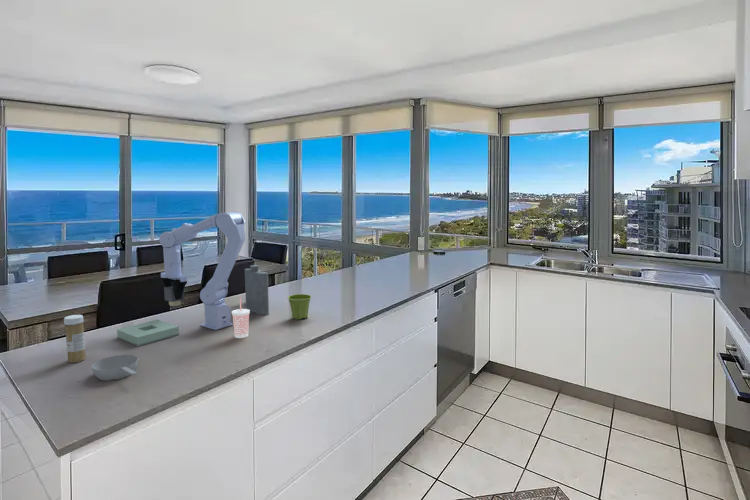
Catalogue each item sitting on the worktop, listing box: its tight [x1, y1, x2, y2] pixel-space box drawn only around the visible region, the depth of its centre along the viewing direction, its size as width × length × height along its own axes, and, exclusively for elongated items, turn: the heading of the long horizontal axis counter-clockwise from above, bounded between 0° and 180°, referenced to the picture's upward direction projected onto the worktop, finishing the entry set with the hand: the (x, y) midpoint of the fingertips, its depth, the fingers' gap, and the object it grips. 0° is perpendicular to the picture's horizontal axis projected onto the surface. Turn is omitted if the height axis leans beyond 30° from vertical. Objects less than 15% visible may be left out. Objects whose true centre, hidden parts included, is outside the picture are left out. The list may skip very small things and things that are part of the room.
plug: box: [163, 286, 185, 307], centre depth 156 cm, size 5×5×7 cm
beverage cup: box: [231, 296, 251, 339], centre depth 143 cm, size 6×6×14 cm
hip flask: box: [244, 264, 270, 316], centre depth 174 cm, size 16×4×20 cm, turn 46°
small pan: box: [91, 354, 139, 381], centre depth 110 cm, size 11×18×4 cm, turn 52°
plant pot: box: [287, 293, 312, 320], centre depth 166 cm, size 9×9×9 cm
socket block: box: [116, 319, 180, 347], centre depth 142 cm, size 14×14×3 cm
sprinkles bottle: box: [63, 314, 87, 363], centre depth 120 cm, size 5×5×13 cm
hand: (174, 297), depth 156 cm, fingers closed on plug, 5 cm apart
